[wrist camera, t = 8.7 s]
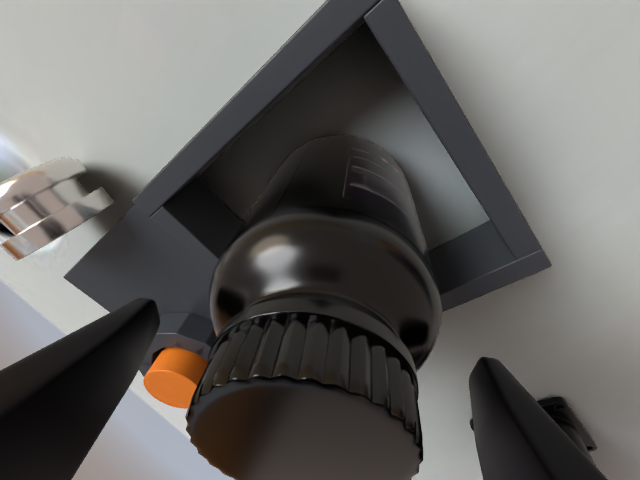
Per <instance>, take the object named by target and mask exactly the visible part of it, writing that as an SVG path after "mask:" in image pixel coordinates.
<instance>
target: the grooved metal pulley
mask: <svg viewBox="0 0 640 480" xmlns="http://www.w3.org/2000/svg"><path fill="white" fill-rule="evenodd" d="M86 171H87V169H86V168H85V166H84V165H83V164H82V163H81V162H79V161H78V160H76V159H73V158H69V157H62V158H57V159H54V160H50V161H48V162H45V163H42V164H40V165H37V166H35V167H33V168H31V169H28V170H26V171H24V172H22V173H20V174H18V175H16V176H14V177H12V178H10V179H8V180H6V181H4V182H2V183H0V222H2V223H3V224H4V225H5V226H6V227H7V228H8V229H9V230H10V231H11V232H12V233H13V234H14V235H15V236H14V237H12V238H10V239H9V240H7V241H5V242H4V243H2V244H0V246H1V247H2V248H3V249H4V250H5V251H6V252H7V253H8V254H9V255H11V256H12V257H13V258H14V259H15V260H16V261H17V260H20V259H22V258H24V257H25V256H27V255H29V254H31V253H33V252H35V251H36V250H38V249H40V248H42V247H43V246H45V245H47V244H48V243H50V242H52V241H54V240H55V239H57V238H59V237H60V236H62V235H64V234H65V233H67V232H69V231H70V230H72V229H74V228H75V227H77V226H79V225H80V224H82V223H83V222H85V221H87V220H88V219H90V218H91V217H93V216H95V215H96V214H98V213H99V212H101V211H102V210H104V209H105V208H107V207H108V206H110V205H111V204H113V203H114V200H113V199H112V198H111V197H110V196H109V195H108V193H107V192H106V191H105V190H104V189H103V188H102V187H101V188H99V189H97V190H95V191H93V192H91V193H90V194H88V192H87V191H86V190H85V189H84V188H83V187H82V186H81V184H80V183H79V182H78V181H77V180H76V178H78V177H79V176H81V175H82V174H84V173H85V172H86Z"/></svg>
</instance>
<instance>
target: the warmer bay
mask: <svg viewBox="0 0 640 480" xmlns="http://www.w3.org/2000/svg"><path fill="white" fill-rule="evenodd" d="M364 22H366V23H367V25H368V27H369V28H370V30H371V31H372V33H373V35H374V36H375V38H376V39H377V41H378V42H379V44H380V46H381V47H382V49H383V50H384V52H385V54H386V55H387V57H388V58H389V60H390V61H391V63H392V65H393V66H394V68H395V69H396V71H397V73H398V74H399V76H400V77H401V79H402V81H403V82H404V84H405V85H406V87H407V88H408V90H409V92H410V93H411V95H412V96H413V98H414V100H415V101H416V103H417V104H418V106H419V107H420V109H421V111H422V112H423V114H424V115H425V117H426V119H427V120H428V122H429V123H430V125H431V126H432V128H433V130H434V131H435V133H436V134H437V136H438V138H439V139H440V141H441V142H442V144H443V145H444V147H445V149H446V150H447V152H448V153H449V155H450V157H451V158H452V160H453V161H454V163H455V164H456V166H457V168H458V169H459V171H460V172H461V174H462V176H463V177H464V179H465V180H466V182H467V184H468V185H469V187H470V188H471V190H472V191H473V193H474V195H475V196H476V198H477V199H478V201H479V203H480V204H481V206H482V207H483V209H484V210H485V212H486V214H487V215H488V217H489V218H490V221H488V222H486V223H484V224H482V225H480V226H478V227H476V228H474V229H472V230H470V231H468V232H466V233H464V234H463V235H461V236H459V237H457V238H455V239H453V240H451V241H449V242H447V243H445V244H443V245H441V246H439V247H437V248H435V249H433V250H432V251H430V252H429V256H430V259H431V263H432V266H433V270H434V273H435V276H436V280H437V284H438V289H439V294H440V298H441V306H442V312H444V311H447V310H449V309H451V308H454V307H456V306H459V305H461V304H463V303H466V302H468V301H470V300H473V299H475V298H478V297H480V296H482V295H485V294H487V293H489V292H492V291H494V290H497V289H499V288H501V287H504V286H506V285H508V284H511V283H513V282H516V281H518V280H520V279H523V278H525V277H527V276H530V275H532V274H535V273H537V272H539V271H542V270H544V269H546V268H549V267H551V266H552V264H551V263H550V261H549V259H548V257H547V256H546V254H545V252H544V251H543V249H542V248H541V245H540V244H539V242H538V240H537V238H536V237H535V235H534V233H533V232H532V230H531V228H530V226H529V225H528V223H527V221H526V220H525V218H524V216H523V214H522V213H521V211H520V209H519V208H518V206H517V204H516V202H515V201H514V199H513V197H512V195H511V194H510V192H509V190H508V189H507V187H506V185H505V183H504V182H503V180H502V178H501V177H500V175H499V173H498V171H497V170H496V168H495V166H494V165H493V163H492V161H491V159H490V158H489V156H488V154H487V152H486V151H485V149H484V147H483V146H482V144H481V142H480V140H479V139H478V137H477V135H476V134H475V132H474V130H473V128H472V127H471V125H470V123H469V121H468V120H467V118H466V116H465V115H464V113H463V111H462V109H461V108H460V106H459V104H458V103H457V101H456V99H455V97H454V96H453V94H452V92H451V91H450V89H449V87H448V85H447V84H446V82H445V80H444V78H443V77H442V75H441V73H440V72H439V70H438V68H437V66H436V65H435V63H434V61H433V60H432V58H431V56H430V54H429V53H428V51H427V49H426V48H425V46H424V44H423V42H422V41H421V39H420V37H419V35H418V34H417V32H416V30H415V29H414V27H413V25H412V23H411V22H410V20H409V18H408V17H407V15H406V13H405V11H404V10H403V8H402V6H401V5H400V3H399V1H398V0H327V1H326V2H325V3H324V4H323V5H322V6H321V7H320V8H319V9H318V10H317V11H316V12H315V13H314V14H313V15H312V16H311V17H310V18H309V19H308V20H307V21H306V22H305V23H304V24H303V25H302V26H301V27H300V28H299V29H298V30H297V31H296V32H295V33H294V34H293V35H292V36H291V37H290V39H289V40H288V41H287V42H286V43H285V44H284V45H283V46H282V47H281V48H280V49H279V50H278V51H277V52H276V53H275V54H274V55H273V56H272V57H271V58H270V59H269V60H268V61H267V62H266V63H265V64H264V65H263V66H262V67H261V68H260V69H259V70H258V71H257V72H256V73H255V74H254V75H253V77H252V78H251V79H250V80H249V81H248V82H247V83H246V84H245V85H244V86H243V87H242V88H241V89H240V90H239V91H238V92H237V93H236V94H235V95H234V96H233V97H232V98H231V99H230V100H229V101H228V102H227V103H226V104H225V105H224V106H223V107H222V108H221V109H220V110H219V111H218V112H217V114H216V115H215V116H214V117H213V118H212V119H211V120H210V121H209V122H208V123H207V124H206V125H205V126H204V127H203V128H202V129H201V130H200V131H199V132H198V133H197V134H196V135H195V136H194V137H193V138H192V139H191V140H190V141H189V142H188V143H187V144H186V145H185V146H184V147H183V148H182V149H181V150H180V152H179V153H178V154H177V155H176V156H175V157H174V158H173V159H172V160H171V161H170V162H169V163H168V164H167V165H166V166H165V167H164V168H163V169H162V170H161V171H160V172H159V173H158V174H157V175H156V176H155V177H154V178H153V179H152V180H151V181H150V182H149V183H148V184H147V185H146V186H145V187H144V188H143V190H142V191H141V192H140V193H139V194H138V195H137V196H136V197H135V198H134V199H133V200H132V202H133V203H134V204H135V205H136V206H138V207H139V208H140V209H141V210H142V211H143V212H144V213H145V214H146V215H148V216H149V217H150V216H151V217H150V218H151V219H152V220H153V221H154V222H155V223H156V224H157V225H158V226H159V227H160V228H162V229H163V230H164V231H165V232H166V233H167V234H168V235H169V236H170V237H172V238H173V239H174V240H175V241H176V242H177V243H178V244H179V245H180V246H182V247H183V248H184V249H185V250H186V251H187V252H188V253H189V254H190V255H192V256H193V257H194V258H195V259H196V260H197V261H198V262H199V263H200V264H202V265H203V266H204V267H205V268H206V269H207V270H208V271H209V272H210V273H212V274H213V272H214V269H215V266H216V265H217V263H218V261H219V259H220V257H221V255H222V253H223V252H224V250H225V248H226V247H227V245H228V244H229V242H230V241H231V239H232V238H233V236H234V235H235V233H236V232H237V230H238V229H239V227H240V226H241V224H242V223H243V222H242V221H241V220H240V219H239V218H238V217H237V216H236V215H235V214H234V213H233V212H232V211H231V210H230V209H229V208H228V207H227V206H226V205H225V204H224V203H223V202H222V201H221V200H220V199H219V198H218V197H217V196H216V195H215V194H214V193H213V192H212V191H211V190H210V189H209V188H208V186H207V185H206V184H205V183H204V182H203V181H202V180H201V179H200V178H197V177H198V176H200V175H201V174H202V173H203V172H204V171H205V170H206V169H207V168H208V167H209V166H210V165H211V164H212V163H214V162H215V161H216V160H217V159H218V158H219V157H220V156H221V155H222V154H223V153H224V152H225V151H226V150H227V149H229V148H230V147H231V146H232V145H233V144H234V143H235V142H236V141H237V140H238V139H239V138H240V137H241V136H242V135H244V134H245V133H246V132H247V131H248V130H249V129H250V128H251V127H252V126H253V125H254V124H255V123H256V122H257V121H259V120H260V119H261V118H262V117H263V116H264V115H265V114H266V113H267V112H268V111H269V110H270V109H271V108H273V107H274V106H275V105H276V104H277V103H278V102H279V101H280V100H281V99H282V98H283V97H284V96H285V95H286V94H288V93H289V92H290V91H291V90H292V89H293V88H294V87H295V86H296V85H297V84H298V83H299V82H300V81H301V80H303V79H304V78H305V77H306V76H307V75H308V74H309V73H310V72H311V71H312V70H313V69H314V68H315V67H317V66H318V65H319V64H320V63H321V62H322V61H323V60H324V59H325V58H326V57H327V56H328V55H329V54H330V53H332V52H333V51H334V50H335V49H336V48H337V47H338V46H339V45H340V44H341V43H342V42H343V41H344V40H345V39H347V38H348V37H349V36H350V35H351V34H352V33H353V32H354V31H355V30H356V29H357V28H358V27H359V26H360V25H362V24H363V23H364Z"/></svg>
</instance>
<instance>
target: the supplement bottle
mask: <svg viewBox="0 0 640 480" xmlns="http://www.w3.org/2000/svg"><path fill="white" fill-rule="evenodd" d="M209 311H210V317H211V322H212V325H213V328H214V331H215V334H216V336H217V338H216V339H215V341H214V343H213V345H212V347H211V349H210V352H209V355H208V359H207V367H206V369H205V371H204V373H203V375H202V377H201V379H200V381H199V383H198V385H197V387H196V389H195V391H194V394H193V396H192V399H191V403H190V405H189V407H188V410H187V414H186V420H187V423H188V424H187V427H186V431H187V432H188V433H189V435H190V436H191V443H192V444H193V445H194V446H195V447H196V448H197V450H198V453H199V454H200V455H202V456H203V457H204V458H206V459H207V460H208V462H209V464H211V465H212V466H214V467H216V468H218V469H219V470H220V471H221V472H222V473H223V474H225V475H227V476H229V477H232V478H234V479H235V480H411V477H412V476H414V475H416V474H417V473H418V472H419V464H420V463H421V462H422V461H423V445H422V430H421V423H420V416H419V409H418V402H417V401H418V393H419V391H418V381H417V374H416V373H417V372H418V370H419V369H420V368H421V367H422V366H423V364H424V363H425V362H426V360H427V359H428V357H429V356H430V354H431V352H432V350H433V348H434V346H435V344H436V341H437V338H438V335H439V332H440V327H441V319H442V306H441V298H440V294H439V289H438V284H437V280H436V276H435V273H434V270H433V266H432V263H431V259H430V256H429V252H428V249H427V245H426V242H425V239H424V235H423V232H422V228H421V225H420V221H419V218H418V214H417V211H416V208H415V204H414V201H413V197H412V194H411V191H410V188H409V185H408V182H407V179H406V177H405V175H404V173H403V171H402V169H401V168H400V166H399V165H398V163H397V162H396V161H395V159H394V158H393V157H392V156H391V155H390V154H389V153H387V152H386V151H385V150H384V149H382V148H381V147H379V146H378V145H376V144H374V143H372V142H370V141H367V140H365V139H362V138H358V137H354V136H346V135H333V136H326V137H321V138H318V139H315V140H312V141H310V142H308V143H306V144H304V145H302V146H301V147H299V148H298V149H296V150H295V151H294V152H293V153H292V154H291V155H290V156H289V157H288V158H287V159H286V160H285V161H284V162H283V164H282V165H281V166H280V168H279V169H278V171H277V172H276V173H275V175H274V176H273V178H272V179H271V181H270V182H269V184H268V185H267V187H266V188H265V190H264V191H263V193H262V194H261V196H260V197H259V199H258V200H257V202H256V203H255V205H254V206H253V208H252V209H251V211H250V212H249V214H248V215H247V217H246V218H245V220H244V221H243V223H242V224H241V226H240V227H239V229H238V230H237V232H236V233H235V235H234V236H233V238H232V239H231V241H230V242H229V244H228V245H227V247H226V248H225V250H224V252H223V253H222V255H221V257H220V259H219V261H218V263H217V265H216V266H215V269H214V272H213V274H212V278H211V282H210V287H209Z"/></svg>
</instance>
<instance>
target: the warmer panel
mask: <svg viewBox="0 0 640 480" xmlns="http://www.w3.org/2000/svg"><path fill="white" fill-rule="evenodd" d="M150 217H151V216H150ZM150 217H149V216H148V215H146V214H145V213H144V212H143V211H142V210H141V209H140V208H139V207H138V206H136V205H134V206H133V207H132V208H131V209H130V210H129V211H128V212H127V213H126V214H125V215H124V216H123V217H122V218H121V219H120V220H119V221H118V222H117V223H116V224H115V225H114V226H113V227H112V228H111V229H110V230H109V231H108V232H107V233H106V234H105V235H104V236H103V237H102V238H101V239H100V240H99V241H98V242H97V243H96V244H95V245H94V246H93V247H92V248H91V249H90V250H89V251H88V252H87V253H86V254H85V255H84V256H83V257H82V258H81V259H80V261H79V262H78V263H77V264H76V265H75V266H74V267H73V268H72V269H71V270H70V271H69V272H68V273H67V274H66V275H65V276H64V278H65V279H66V280H67V281H69V282H70V283H71V284H73V285H74V286H75V287H77V288H78V289H80V290H81V291H82V292H84V293H85V294H86V295H88V296H89V297H90V298H92V299H93V300H94V301H96V302H97V303H98V304H100V305H101V306H102V307H104V308H105V309H106V310H108V311H109V312H110V313H111V312H113V311H115V310H117V309H119V308H120V307H122V306H124V305H126V304H128V303H130V302H132V301H134V300H136V299H138V298H147V299H153V300H154V301H155V302H156V304H157V308H158V312H159V317H160V326H159V329H158V331H157V333H156V335H155V337H154V339H153V341H152V343H151V345H150V347H149V349H148V351H147V354H146V356H145V358H144V360H143V362H142V364H141V366H140V368H139V370H140V372H141V373H142V375H143V376H144V377H145V375H146V373H147V372H148V370H149V369H150V367H151V366H152V365H153V363H154V362H155V360H156V359H157V357H158V356H159V354H160V353H161V351H162V350H164V349H166V348H182V349H184V350H187V351H190V352H193V353H196V354H199V355H200V356H201V357H202V358H204V359H205V360H206V361H207V359H208V355H209V352H210V349H211V347H212V345H213V343H214V341H215V339H216V338H217V336H216V334H215V331H214V328H213V325H212V322H211V317H210V311H209V287H210V282H211V278H212V273H210V272H209V271H208V270H207V269H206V268H205V267H204V266H203V265H202V264H200V263H199V262H198V261H197V260H196V259H195V258H194V257H193V256H192V255H190V254H189V253H188V252H187V251H186V250H185V249H184V248H183V247H182V246H180V245H179V244H178V243H177V242H176V241H175V240H174V239H173V238H172V237H170V236H169V235H168V234H167V233H166V232H165V231H164V230H163V229H162V228H160V227H159V226H158V225H157V224H156V223H155V222H154V221H153V220H152V219H151V218H150Z"/></svg>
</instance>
